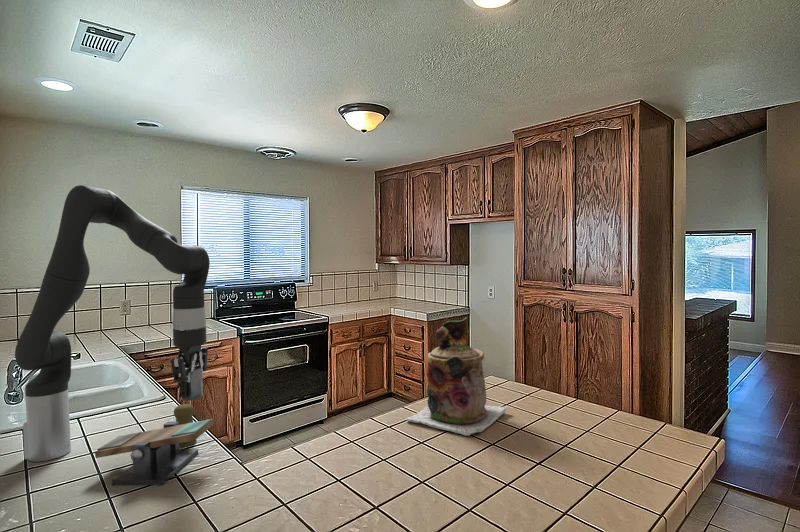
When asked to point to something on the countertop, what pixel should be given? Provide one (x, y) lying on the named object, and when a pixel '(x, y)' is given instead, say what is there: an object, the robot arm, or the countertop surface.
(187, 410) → the olive brown waisted cylinder
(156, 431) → the beam
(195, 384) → the cylinder
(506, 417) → the countertop surface
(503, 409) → the cookie jar
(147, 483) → the seesaw stand
